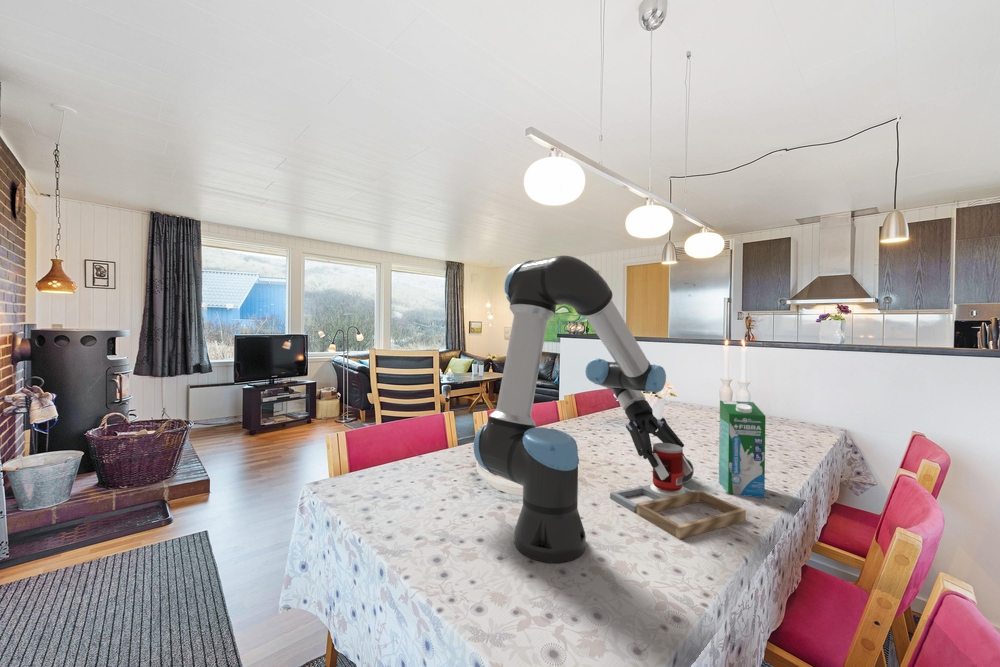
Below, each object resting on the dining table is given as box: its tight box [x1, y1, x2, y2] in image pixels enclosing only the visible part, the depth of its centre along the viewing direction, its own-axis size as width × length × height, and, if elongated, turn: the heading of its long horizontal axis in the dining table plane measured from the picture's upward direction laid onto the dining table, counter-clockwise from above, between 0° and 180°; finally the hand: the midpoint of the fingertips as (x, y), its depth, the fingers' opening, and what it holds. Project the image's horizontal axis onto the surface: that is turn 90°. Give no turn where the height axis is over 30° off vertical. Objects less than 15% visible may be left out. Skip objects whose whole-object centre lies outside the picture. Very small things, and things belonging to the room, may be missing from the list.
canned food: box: [652, 442, 684, 491], centre depth 110 cm, size 8×8×11 cm
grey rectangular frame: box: [609, 483, 694, 513], centre depth 108 cm, size 22×9×2 cm, turn 114°
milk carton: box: [718, 400, 767, 498], centre depth 114 cm, size 9×9×25 cm
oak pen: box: [636, 489, 747, 540], centre depth 97 cm, size 22×13×2 cm, turn 114°
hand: (677, 475), depth 107 cm, fingers open, 8 cm apart
